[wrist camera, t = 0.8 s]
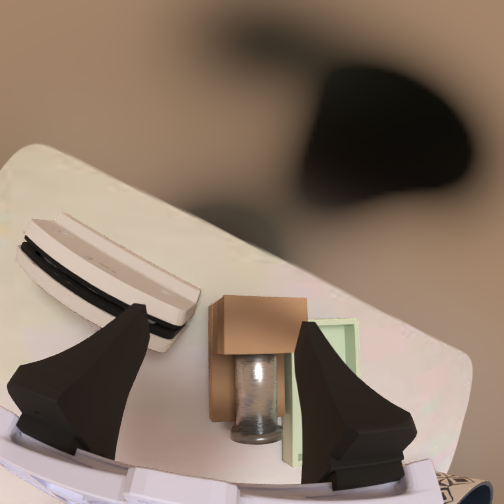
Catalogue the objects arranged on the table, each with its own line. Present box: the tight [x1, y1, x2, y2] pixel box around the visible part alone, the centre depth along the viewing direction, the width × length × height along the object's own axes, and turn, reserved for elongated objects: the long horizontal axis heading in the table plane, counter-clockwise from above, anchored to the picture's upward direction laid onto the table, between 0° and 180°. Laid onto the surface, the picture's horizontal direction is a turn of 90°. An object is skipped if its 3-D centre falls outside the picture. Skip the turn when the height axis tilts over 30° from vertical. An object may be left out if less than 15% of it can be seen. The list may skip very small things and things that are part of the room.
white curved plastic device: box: [16, 213, 201, 353], centre depth 23 cm, size 17×5×10 cm, turn 67°
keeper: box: [208, 295, 308, 422], centre depth 25 cm, size 11×7×7 cm, turn 1°
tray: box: [282, 318, 361, 467], centre depth 28 cm, size 15×8×2 cm, turn 1°
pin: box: [230, 353, 283, 445], centre depth 24 cm, size 11×5×5 cm, turn 1°
